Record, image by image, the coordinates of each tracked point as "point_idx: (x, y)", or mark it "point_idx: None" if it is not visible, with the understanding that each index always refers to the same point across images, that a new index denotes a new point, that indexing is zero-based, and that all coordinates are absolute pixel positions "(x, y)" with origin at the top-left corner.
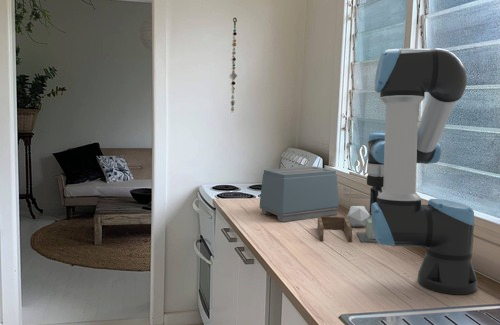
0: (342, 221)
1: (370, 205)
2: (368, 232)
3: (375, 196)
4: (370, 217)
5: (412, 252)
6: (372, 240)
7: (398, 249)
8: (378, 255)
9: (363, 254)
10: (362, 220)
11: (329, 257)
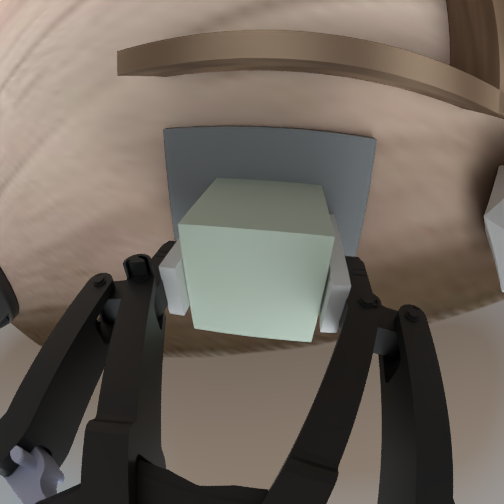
0: (481, 78)
1: (410, 372)
2: (205, 191)
3: (72, 490)
4: (340, 279)
5: None
6: (180, 195)
7: (114, 273)
8: (37, 189)
9: (31, 138)
10: (488, 230)
11: (5, 41)
